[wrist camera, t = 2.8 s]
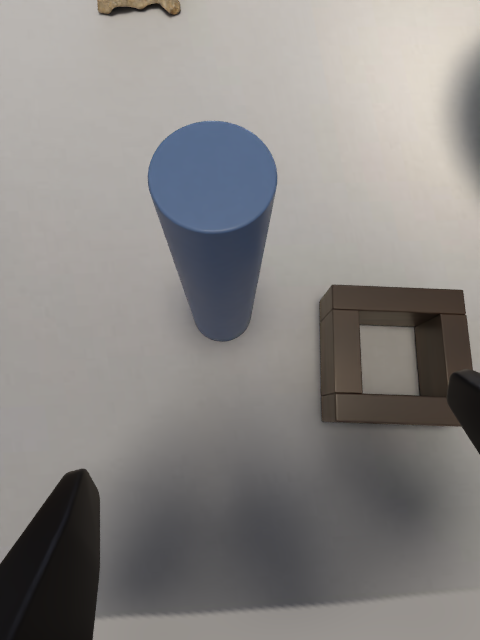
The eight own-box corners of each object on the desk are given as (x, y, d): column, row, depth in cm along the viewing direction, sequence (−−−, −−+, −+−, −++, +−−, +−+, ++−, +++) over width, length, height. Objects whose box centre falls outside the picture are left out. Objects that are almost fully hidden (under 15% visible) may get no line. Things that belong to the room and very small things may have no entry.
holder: (446, 426, 22) (480, 426, 19) (321, 421, 22) (335, 421, 19) (434, 305, 24) (463, 289, 21) (319, 301, 24) (331, 283, 21)
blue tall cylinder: (243, 347, 23) (261, 246, 10) (187, 333, 23) (129, 215, 10) (256, 294, 24) (289, 134, 10) (202, 281, 24) (168, 107, 11)
